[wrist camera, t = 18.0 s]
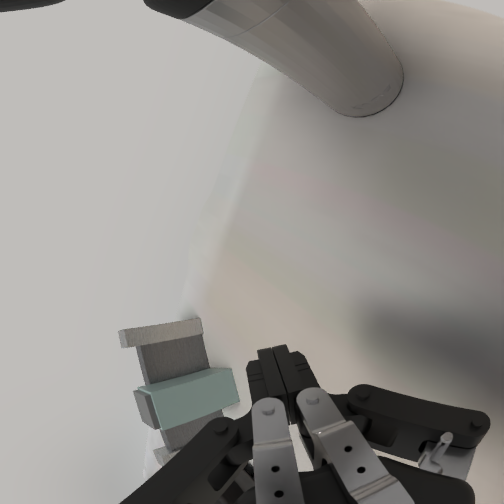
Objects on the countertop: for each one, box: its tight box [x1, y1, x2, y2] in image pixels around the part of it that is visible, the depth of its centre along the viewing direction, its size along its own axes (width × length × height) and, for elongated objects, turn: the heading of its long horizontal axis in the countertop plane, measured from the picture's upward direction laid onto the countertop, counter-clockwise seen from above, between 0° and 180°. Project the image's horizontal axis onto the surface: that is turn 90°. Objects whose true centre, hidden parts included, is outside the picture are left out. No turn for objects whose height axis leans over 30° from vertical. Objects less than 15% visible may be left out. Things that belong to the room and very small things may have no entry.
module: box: [133, 368, 240, 430], centre depth 31 cm, size 5×5×13 cm
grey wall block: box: [118, 318, 223, 466], centre depth 35 cm, size 21×6×12 cm, turn 20°
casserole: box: [214, 469, 255, 504], centre depth 33 cm, size 25×19×8 cm
